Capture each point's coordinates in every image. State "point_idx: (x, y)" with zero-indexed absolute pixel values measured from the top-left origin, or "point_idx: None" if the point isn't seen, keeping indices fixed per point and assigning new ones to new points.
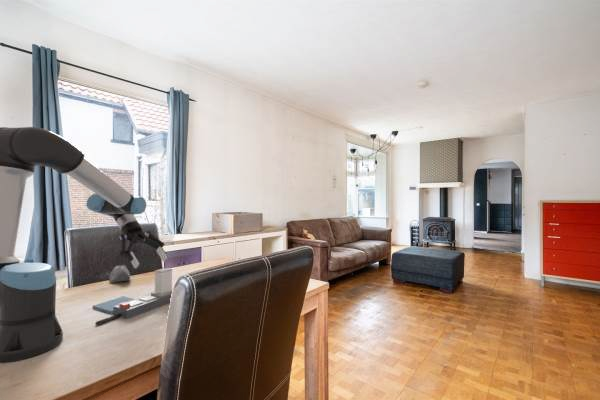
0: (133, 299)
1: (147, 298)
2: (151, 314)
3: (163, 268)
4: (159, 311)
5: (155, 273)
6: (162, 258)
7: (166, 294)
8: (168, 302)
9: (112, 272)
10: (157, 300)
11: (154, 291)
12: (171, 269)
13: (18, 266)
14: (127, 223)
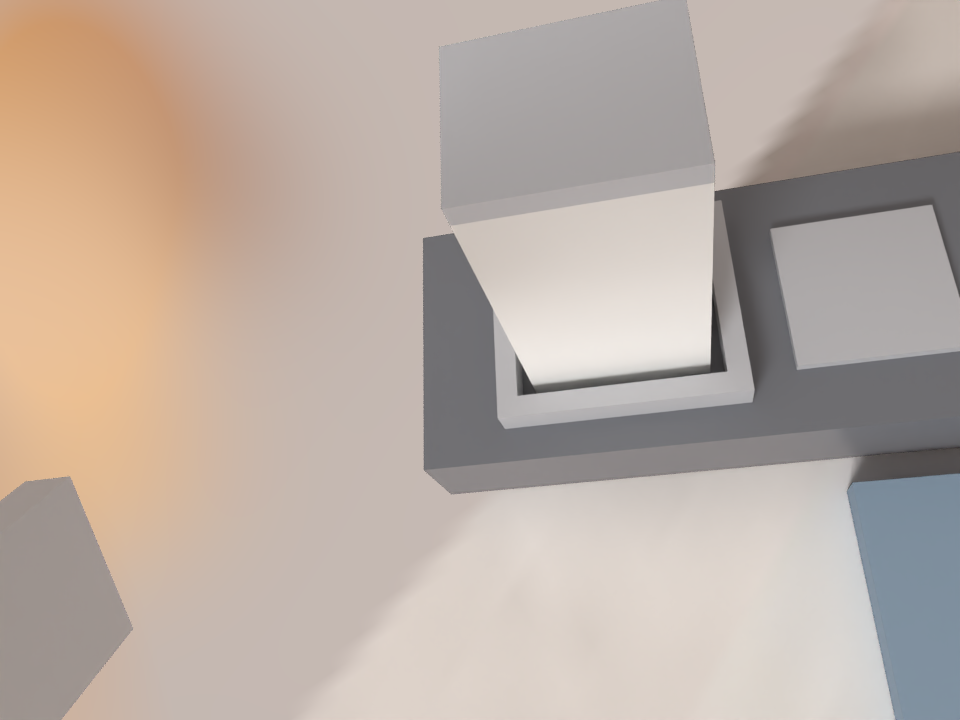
0: (909, 657)
1: (879, 277)
2: (939, 103)
3: (500, 185)
4: (838, 116)
5: (712, 184)
6: (66, 645)
7: None
8: None
9: None
10: (795, 185)
11: (692, 395)
12: (453, 49)
13: None
14: None
